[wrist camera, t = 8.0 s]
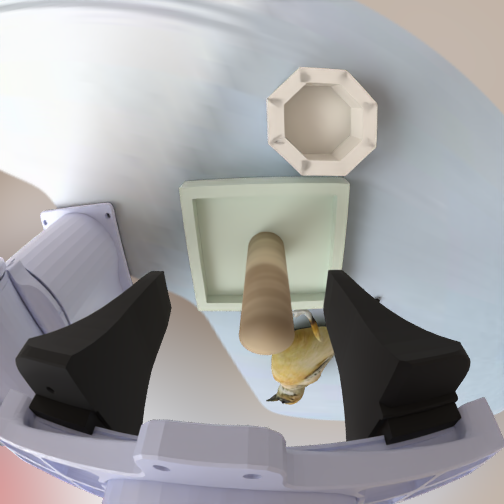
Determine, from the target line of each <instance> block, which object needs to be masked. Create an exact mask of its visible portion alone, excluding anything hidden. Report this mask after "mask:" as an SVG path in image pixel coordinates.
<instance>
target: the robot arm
mask: <svg viewBox="0 0 504 504" xmlns="http://www.w3.org/2000/svg"><path fill="white" fill-rule="evenodd" d="M107 213H109V214H110V217H108V216H107ZM40 217H41V221H42V224H43V228H44V230H43V231H42V232H41V233H39V234H38V235H37V236H36V237H35V238H33V239H32V240H31V241H30V242H29V243H27V244H26V245H25V246H23V247H22V248H21V249H20V250H19V251H18V252H16V253H15V254H14V255H13V256H12V257H11V258H9V259H8V260H7V261H6V262H4V259H3V258H2V257H0V445H1V446H6V447H7V448H8V449H9V450H10V451H12V452H13V453H14V454H16V455H17V456H18V457H19V458H20V459H22V460H23V461H25V462H27V463H29V464H30V465H32V466H34V467H37V468H38V469H40V470H42V471H44V472H46V473H48V474H50V475H52V476H54V477H56V478H58V479H60V480H62V481H64V482H66V483H68V484H71V485H73V486H75V487H77V488H80V489H82V490H84V491H87V492H89V493H92V494H94V495H97V496H99V497H102V498H103V501H102V504H396V503H399V502H402V501H405V500H408V499H411V498H414V497H416V496H419V495H422V494H424V493H426V492H429V491H431V490H434V489H436V488H439V487H441V486H444V485H446V484H448V483H451V482H453V481H455V480H457V479H460V478H462V477H464V476H466V475H468V474H470V473H472V472H473V471H475V470H476V469H477V468H479V467H480V466H481V465H483V464H484V463H485V462H487V461H488V460H489V459H490V458H492V457H493V456H494V455H495V454H496V453H498V452H499V451H500V450H501V449H502V448H503V447H504V439H503V436H502V434H501V432H500V429H499V427H498V424H497V422H496V420H495V418H494V415H493V413H492V411H491V409H490V407H489V405H488V403H487V401H486V399H485V397H482V398H479V399H477V400H474V401H471V402H468V403H466V404H464V405H462V406H460V407H459V408H457V406H456V404H455V402H456V401H457V400H458V396H457V394H456V392H455V391H456V389H457V388H458V386H459V385H460V384H461V382H462V381H463V379H464V378H465V376H466V374H467V372H468V371H469V367H470V358H469V357H468V355H467V353H466V351H465V350H464V348H463V346H462V345H461V343H460V342H458V341H454V340H451V339H448V338H445V337H441V336H439V335H436V334H434V333H431V332H429V331H426V330H424V329H422V328H420V327H418V326H416V325H414V324H412V323H410V322H408V321H406V320H405V319H403V318H401V317H400V316H398V315H396V314H395V313H393V312H392V311H390V310H389V309H387V308H386V307H385V306H383V305H382V304H381V303H379V302H378V301H377V300H376V299H374V298H373V297H372V296H371V295H369V294H368V293H367V292H366V291H365V290H364V289H363V288H361V287H360V286H359V285H358V284H357V283H356V282H355V281H354V280H353V279H352V278H350V277H349V276H348V275H347V274H346V273H345V272H344V271H343V270H328V276H327V283H326V291H325V298H324V305H323V309H324V316H325V322H326V328H327V331H328V334H329V338H330V341H331V345H332V348H333V351H334V355H335V358H336V362H337V365H338V370H339V374H340V381H341V387H342V395H343V403H344V413H345V426H346V442H338V443H331V444H320V445H309V446H294V447H286V441H285V439H284V437H283V436H282V434H280V433H279V432H276V431H274V430H271V429H269V428H266V427H258V426H249V425H220V424H204V423H192V422H182V421H173V420H150V421H148V422H146V423H144V424H142V423H143V415H144V407H145V401H146V395H147V389H148V385H149V380H150V375H151V371H152V368H153V364H154V362H155V359H156V356H157V353H158V351H159V348H160V345H161V343H162V340H163V337H164V334H165V332H166V329H167V326H168V321H169V317H170V312H171V304H170V299H169V295H168V290H167V286H166V281H165V276H164V271H151V272H149V273H148V274H146V275H145V276H144V277H142V278H141V279H140V280H138V281H137V282H136V283H135V284H132V280H131V277H130V273H129V270H128V266H127V262H126V259H125V255H124V251H123V247H122V243H121V239H120V235H119V230H118V226H117V222H116V217H115V212H114V208H113V206H112V204H110V203H99V204H90V205H82V206H74V207H67V208H59V209H52V210H45V211H43V212H42V213H41V216H40ZM46 221H47V222H46Z"/></svg>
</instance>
